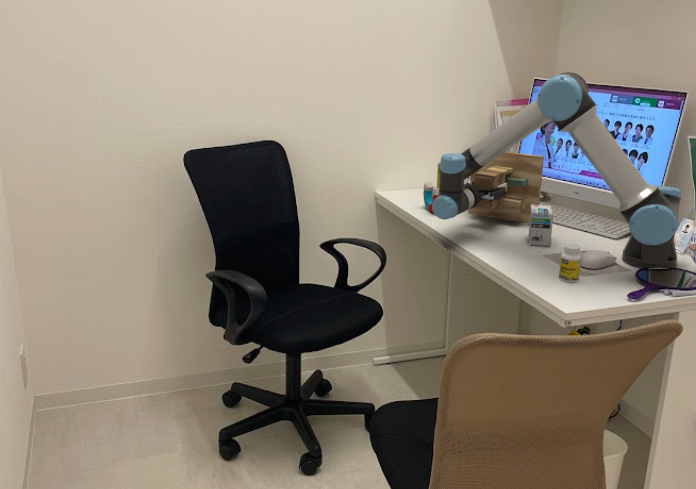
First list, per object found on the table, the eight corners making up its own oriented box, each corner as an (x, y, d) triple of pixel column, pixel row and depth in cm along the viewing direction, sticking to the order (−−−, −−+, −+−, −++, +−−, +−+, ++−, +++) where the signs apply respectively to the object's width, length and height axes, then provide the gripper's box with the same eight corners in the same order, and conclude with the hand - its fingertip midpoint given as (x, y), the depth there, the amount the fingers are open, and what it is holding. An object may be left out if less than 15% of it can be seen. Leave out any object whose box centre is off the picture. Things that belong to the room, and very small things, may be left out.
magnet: (422, 207, 266) (423, 181, 262) (429, 206, 266) (430, 181, 263) (434, 215, 255) (435, 189, 252) (441, 215, 256) (443, 188, 253)
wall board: (528, 229, 239) (534, 160, 232) (460, 216, 254) (463, 151, 246) (540, 221, 248) (547, 154, 240) (474, 209, 263) (478, 146, 255)
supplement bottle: (555, 280, 194) (559, 246, 191) (561, 274, 199) (565, 241, 196) (575, 284, 192) (579, 250, 188) (581, 278, 196) (585, 245, 193)
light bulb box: (550, 246, 222) (554, 214, 219) (528, 245, 224) (531, 212, 220) (548, 236, 232) (551, 205, 229) (527, 235, 234) (530, 204, 230)
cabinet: (491, 211, 235) (493, 176, 231) (472, 207, 239) (474, 173, 235) (510, 201, 247) (513, 168, 243) (492, 198, 251) (494, 165, 247)
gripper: (436, 204, 231) (468, 191, 249) (492, 215, 220) (521, 200, 238) (437, 182, 229) (470, 170, 247) (494, 192, 218) (523, 178, 235)
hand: (495, 185), depth 242 cm, fingers closed on cabinet, 7 cm apart
